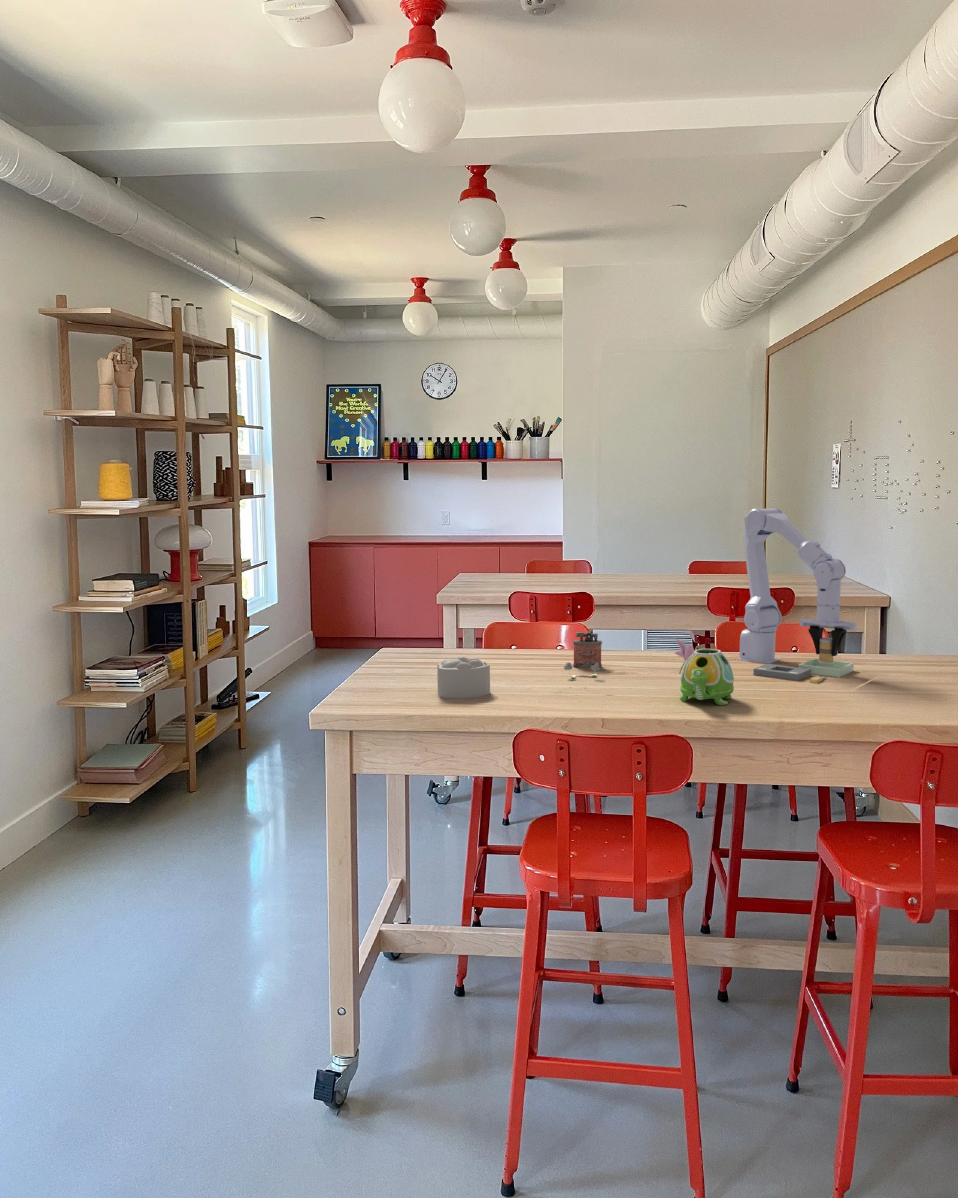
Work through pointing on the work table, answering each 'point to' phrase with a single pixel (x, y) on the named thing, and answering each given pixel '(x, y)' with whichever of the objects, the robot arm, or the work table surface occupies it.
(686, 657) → the lily
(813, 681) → the puller tool
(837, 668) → the parts tray
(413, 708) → the work table surface
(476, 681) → the lumpy-topped squat cylinder
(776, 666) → the fuse block
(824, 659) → the fuse
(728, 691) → the turtle holder
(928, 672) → the work table surface
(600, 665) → the lighter
